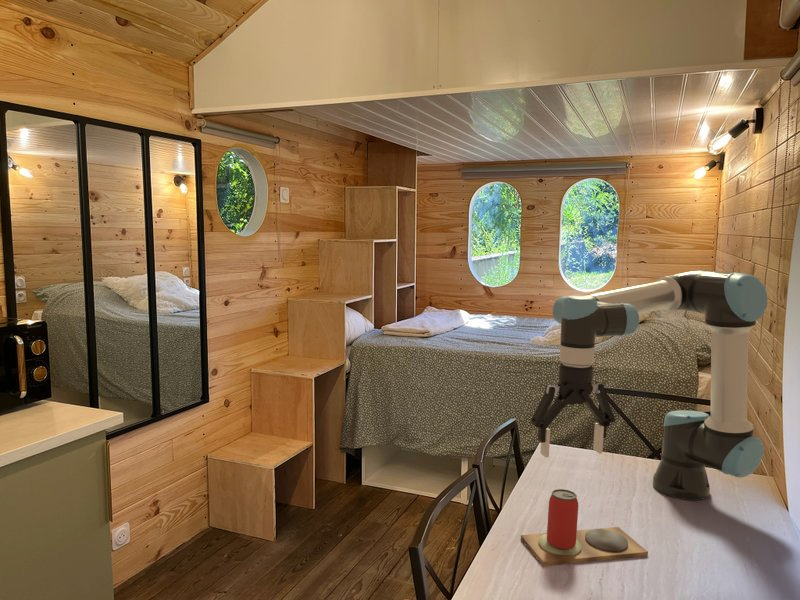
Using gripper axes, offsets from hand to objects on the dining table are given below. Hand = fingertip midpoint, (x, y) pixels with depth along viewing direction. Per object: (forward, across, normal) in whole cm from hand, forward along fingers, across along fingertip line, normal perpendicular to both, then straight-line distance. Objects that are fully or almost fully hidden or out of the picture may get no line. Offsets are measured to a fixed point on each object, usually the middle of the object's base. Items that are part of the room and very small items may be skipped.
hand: (571, 453), depth 142 cm
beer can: (+21, +3, +3) cm, 21 cm away
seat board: (+22, -3, +2) cm, 23 cm away
